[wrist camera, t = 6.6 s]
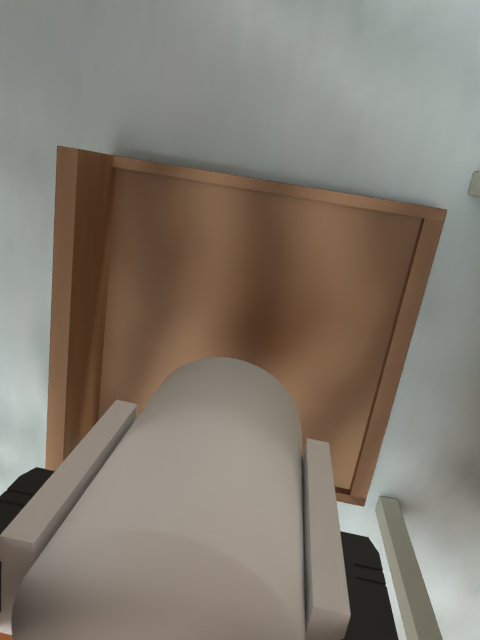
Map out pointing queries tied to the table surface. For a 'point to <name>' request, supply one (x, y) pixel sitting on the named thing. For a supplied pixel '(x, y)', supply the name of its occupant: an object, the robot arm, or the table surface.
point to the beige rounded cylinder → (184, 522)
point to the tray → (232, 296)
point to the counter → (409, 554)
